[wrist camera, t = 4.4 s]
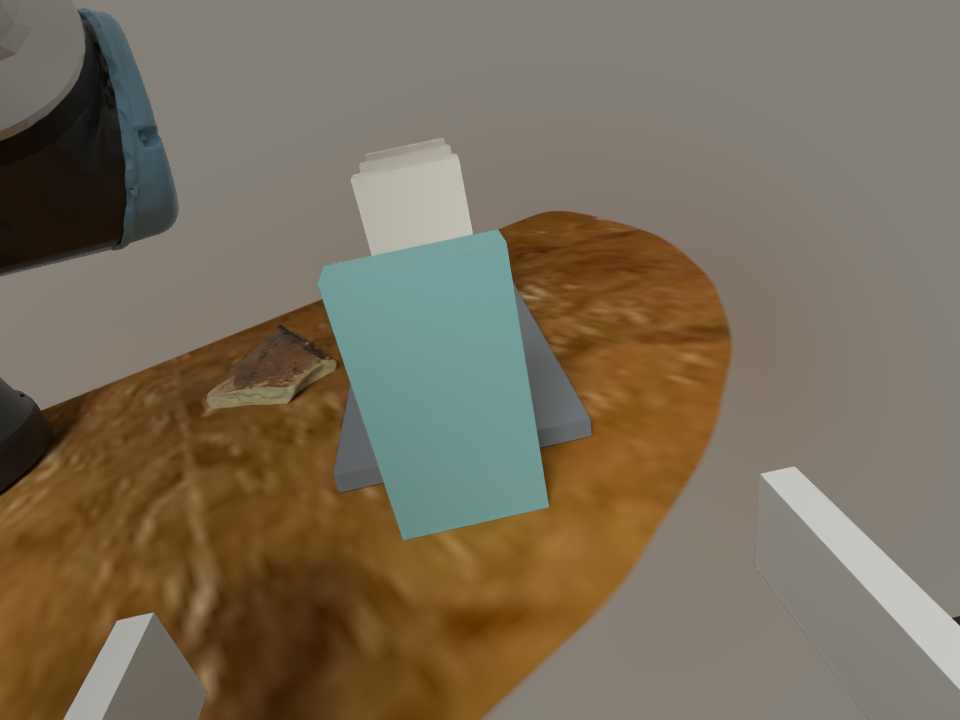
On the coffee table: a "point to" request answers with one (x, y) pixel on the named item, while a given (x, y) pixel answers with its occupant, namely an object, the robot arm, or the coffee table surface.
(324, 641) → the coffee table surface
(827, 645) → the robot arm
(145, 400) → the coffee table surface
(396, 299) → the teal domino
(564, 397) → the slate runway
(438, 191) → the ivory domino
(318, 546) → the coffee table surface
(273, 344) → the shard
